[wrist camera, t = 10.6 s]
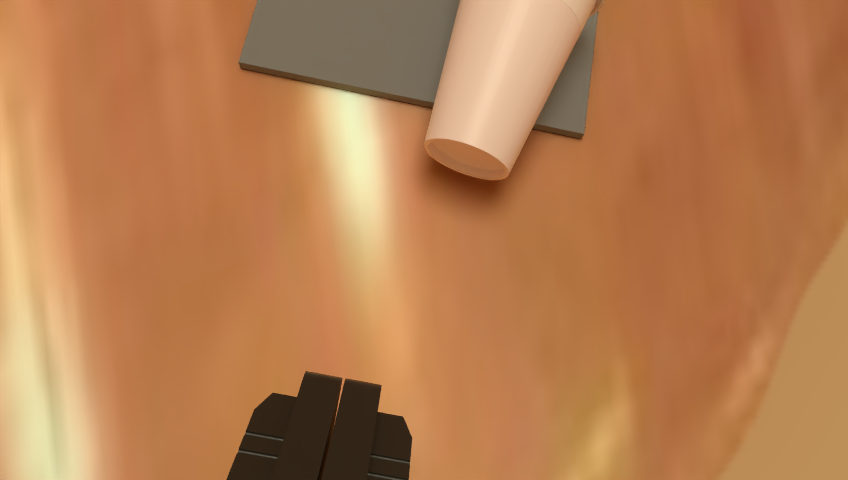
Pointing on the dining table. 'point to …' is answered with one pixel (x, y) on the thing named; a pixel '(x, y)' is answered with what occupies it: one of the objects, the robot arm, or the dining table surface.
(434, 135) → the smoothie
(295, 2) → the mat
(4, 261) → the dining table surface
